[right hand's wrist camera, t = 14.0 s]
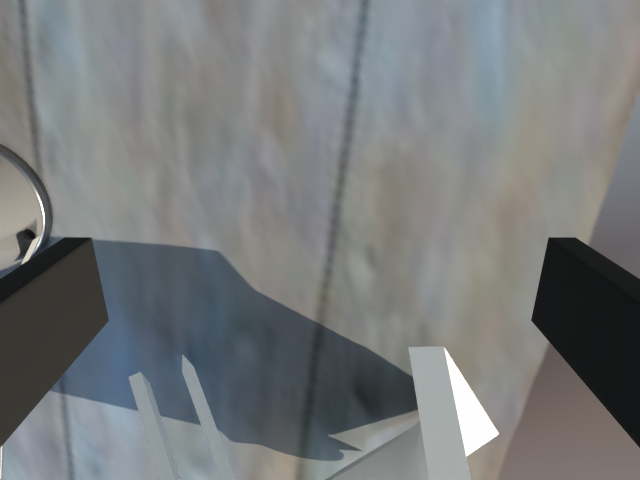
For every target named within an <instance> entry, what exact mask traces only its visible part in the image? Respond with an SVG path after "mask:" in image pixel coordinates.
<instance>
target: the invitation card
mask: <svg viewBox="0 0 640 480" xmlns="http://www.w3.org/2000/svg"><path fill="white" fill-rule="evenodd" d="M1 464H2V446H1V447H0V480H1Z"/></svg>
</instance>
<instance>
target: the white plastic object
mask: <svg viewBox="0 0 640 480" xmlns="http://www.w3.org/2000/svg"><path fill="white" fill-rule="evenodd" d="M408 348H409V355H410V361H411V367H412V373H413V380H414V386H415V392H416V399H417V405H418V411H419V417H420V421H419V422H418V423H417V424H416V425H414V426H413V427H412V428H410V429H409V430H407V431H405V432H403V433H402V434H400V435H398V436H397V437H395V438H393V439H391V440H390V441H388V442H386V443H384V444H383V445H381V446H379V447H378V448H376V449H374V450H372V451H371V452H369V453H367V454H366V455H364V456H362V457H361V458H359V459H357V460H356V461H354V462H352V463H351V464H349V465H347V466H346V467H344V468H343V469H341V470H339V471H338V472H336V473H335V474H333V475H332V476H330V477H328V478H327V479H325V480H471V477H470V472H469V467H468V463H467V458H466V456H468V455H469V454H471V453H472V452H474V451H475V450H476V449H478V448H479V447H481V446H482V445H484V444H485V443H487V442H488V441H490V440H491V439H493V438H494V437H496V436H497V435H498V434H499V433H498V431H497V430H496V428H495V427H494V425H493V423H492V422H491V420H490V419H489V417H488V415H487V414H486V412H485V411H484V409H483V408H482V406H481V404H480V403H479V401H478V400H477V398H476V396H475V395H474V393H473V392H472V390H471V389H470V387H469V385H468V384H467V382H466V381H465V379H464V377H463V376H462V374H461V373H460V371H459V370H458V368H457V366H456V365H455V363H454V362H453V360H452V358H451V357H450V355H449V354H448V352H447V351H446V349H445V347H408ZM182 373H183V376H184V379H185V381H186V384H187V387H188V390H189V392H190V395H191V398H192V401H193V404H194V406H195V409H196V412H197V415H198V417H199V420H200V423H201V426H202V429H203V431H204V434H205V437H206V440H207V443H208V445H209V448H210V451H211V454H212V456H213V459H214V462H215V465H216V468H217V470H218V473H219V476H220V479H221V480H236V479H235V476H234V473H233V470H232V468H231V465H230V462H229V460H228V457H227V454H226V452H225V449H224V446H223V444H222V441H221V438H220V436H219V433H218V430H217V428H216V425H215V422H214V420H213V417H212V414H211V412H210V409H209V406H208V404H207V401H206V398H205V396H204V393H203V390H202V387H201V385H200V382H199V379H198V377H197V374H196V371H195V369H194V367H193V365H192V364H191V363H190V362H189V361H188V360H187V359H186V357H185V356H184V355H183V354H182ZM128 378H129V381H130V385H131V388H132V391H133V395H134V398H135V401H136V405H137V408H138V411H139V415H140V418H141V421H142V424H143V428H144V431H145V434H146V438H147V441H148V444H149V448H150V451H151V454H152V458H153V461H154V464H155V468H156V471H157V474H158V478H159V480H181V478H180V475H179V472H178V469H177V466H176V462H175V459H174V456H173V453H172V450H171V447H170V444H169V441H168V438H167V434H166V431H165V428H164V425H163V422H162V419H161V416H160V413H159V410H158V406H157V403H156V400H155V397H154V394H153V391H152V388H151V385H150V383H149V382H148V380H147V379H146V378H145V377H144V375H143V374H142V373H141V372H139V373H136V374H134V375H132V376H129V377H128Z"/></svg>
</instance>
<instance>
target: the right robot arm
mask: <svg viewBox="0 0 640 480" xmlns="http://www.w3.org/2000/svg"><path fill="white" fill-rule="evenodd" d="M52 220H53V217H52V207H51V203H50V199H49V196H48V193H47V191H46V189H45V187H44V185H43V183H42V182H41V180H40V178H39V177H38V176H37V174H36V173H35V172H34V170H33V169H32V168H31V167H30V166H29V165H28V164H27V163H26V162H25V161H24V160H23V159H22V158H21V157H19V156H18V155H17V154H16V153H14V152H13V151H11V150H10V149H8V148H7V147H5V146H3V145H1V144H0V271H4V270H8V269H12V268H14V267H17V266H19V265H20V264H21V266H20V267H18V268H17V269H15V270H14V271H12V272H11V273H9V274H8V275H6V276H4V277H3V278H1V279H0V447H1V446H2V445H3V444H4V443H5V442H6V440H7V439H8V438H9V437H10V436H11V434H12V433H13V432H14V431H15V430H16V429H17V427H18V426H19V425H20V424H21V423H22V422H23V420H24V419H25V418H26V417H27V416H28V415H29V413H30V412H31V411H32V410H33V409H34V407H35V406H36V405H37V404H38V403H39V402H40V400H41V399H42V398H43V397H44V396H45V395H46V393H47V392H48V391H49V390H50V389H51V388H52V386H53V385H54V384H55V383H56V382H57V380H58V379H59V378H60V377H61V376H62V375H63V373H64V372H65V371H66V370H67V369H68V368H69V366H70V365H71V364H72V363H73V362H74V361H75V359H76V358H77V357H78V356H79V355H80V353H81V352H82V351H83V350H84V349H85V348H86V346H87V345H88V344H89V343H90V342H91V341H92V339H93V338H94V337H95V336H96V335H97V334H98V332H99V331H100V330H101V329H102V328H103V326H104V325H105V324H106V323H107V322H108V321H109V320H108V315H107V310H106V305H105V301H104V296H103V291H102V286H101V281H100V277H99V272H98V267H97V262H96V258H95V253H94V248H93V243H92V239H91V238H63V239H62V240H60V241H59V242H57V243H55V244H54V245H52V246H51V247H49V248H48V249H46V250H45V251H43V252H42V253H40V254H38V255H37V256H35V257H34V258H32V259H31V260H29V259H30V258H31V257H33V256H34V255H36V254H37V253H38V252H39V251H40V250H41V249H42V248H43V247H44V245H45V244H46V242H47V240H48V238H49V236H50V232H51V228H52ZM28 260H29V261H28ZM26 261H28V262H26ZM25 262H26V263H25ZM23 263H25V264H23ZM22 264H23V265H22ZM531 321H532V322H533V323H534V324H535V325H536V327H537V328H538V329H539V330H540V331H541V332H542V334H543V335H544V336H545V337H546V338H547V339H548V341H549V342H550V343H551V344H552V345H553V346H554V348H555V349H556V350H557V351H558V352H559V353H560V355H561V356H562V357H563V358H564V359H565V361H566V362H567V363H568V364H569V365H570V366H571V368H572V369H573V370H574V371H575V372H576V373H577V375H578V376H579V377H580V378H581V379H582V380H583V382H584V383H585V384H586V385H587V386H588V388H589V389H590V390H591V391H592V392H593V393H594V395H595V396H596V397H597V398H598V399H599V400H600V402H601V403H602V404H603V405H604V406H605V407H606V409H607V410H608V411H609V412H610V413H611V415H612V416H613V417H614V418H615V419H616V420H617V422H618V423H619V424H620V425H621V426H622V427H623V429H624V430H625V431H626V432H627V433H628V434H629V436H630V437H631V438H632V439H633V440H634V441H635V443H636V444H637V445H638V446H639V447H640V279H639V278H637V277H635V276H634V275H632V274H631V273H629V272H628V271H626V270H625V269H623V268H622V267H620V266H619V265H617V264H615V263H614V262H612V261H611V260H609V259H608V258H606V257H605V256H603V255H602V254H600V253H598V252H597V251H595V250H594V249H592V248H591V247H589V246H588V245H586V244H585V243H583V242H581V241H580V240H578V239H577V238H549V239H548V243H547V248H546V253H545V258H544V262H543V267H542V272H541V277H540V281H539V286H538V291H537V296H536V301H535V305H534V310H533V315H532V320H531Z"/></svg>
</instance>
